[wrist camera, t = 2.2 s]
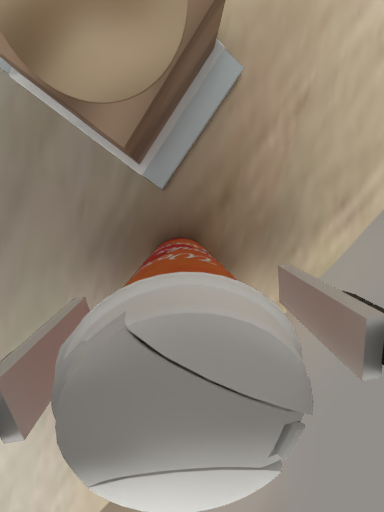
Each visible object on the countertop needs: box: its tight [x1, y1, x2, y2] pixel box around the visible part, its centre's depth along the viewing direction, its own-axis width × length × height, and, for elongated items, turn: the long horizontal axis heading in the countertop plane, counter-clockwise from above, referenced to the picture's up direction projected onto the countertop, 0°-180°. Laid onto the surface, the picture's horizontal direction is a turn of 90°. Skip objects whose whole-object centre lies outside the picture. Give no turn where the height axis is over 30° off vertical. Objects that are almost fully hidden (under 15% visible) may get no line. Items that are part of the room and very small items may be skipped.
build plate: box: [0, 38, 244, 190], centre depth 15 cm, size 15×11×1 cm
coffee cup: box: [52, 238, 313, 512], centre depth 13 cm, size 8×8×15 cm
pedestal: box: [0, 0, 225, 165], centre depth 12 cm, size 10×10×5 cm
